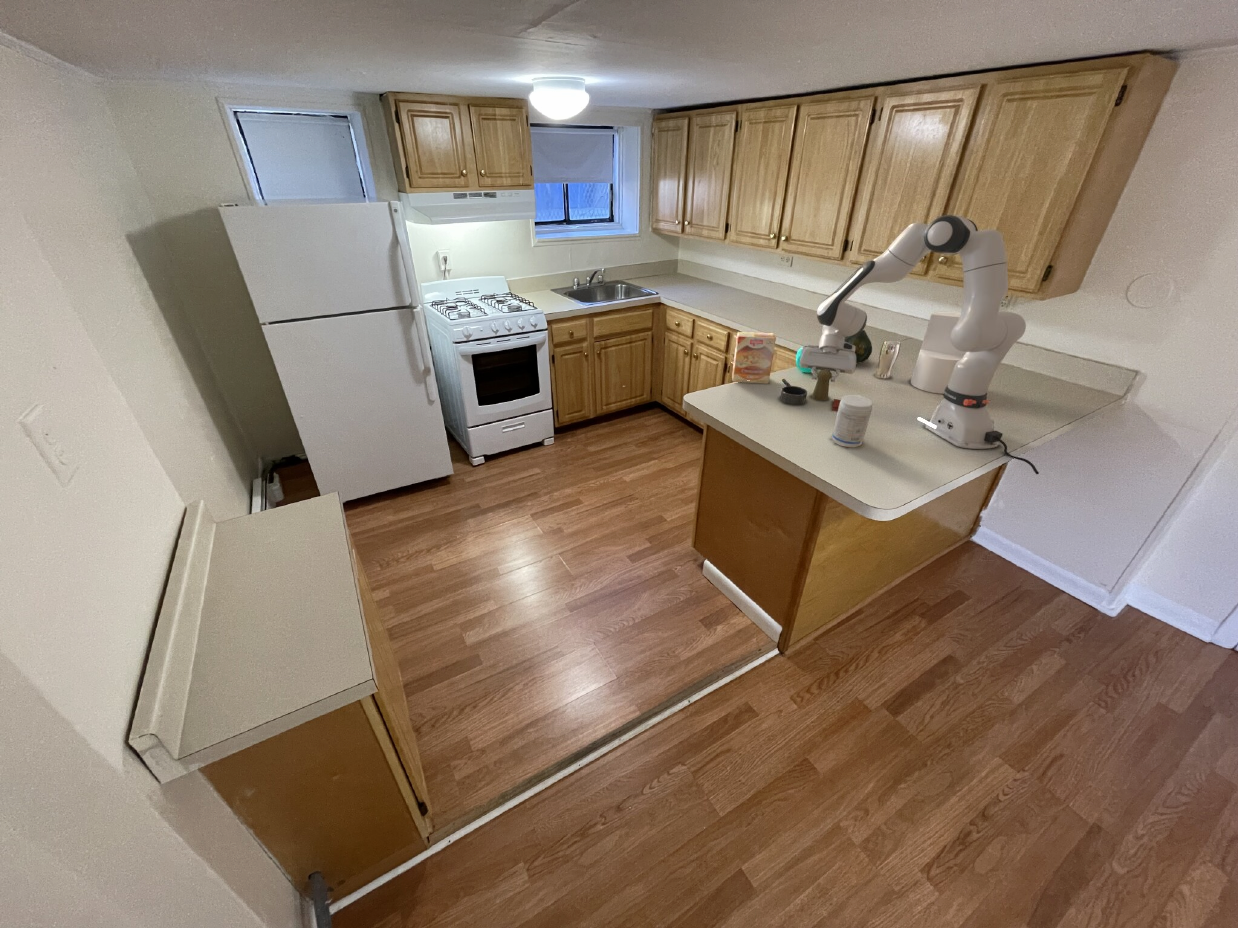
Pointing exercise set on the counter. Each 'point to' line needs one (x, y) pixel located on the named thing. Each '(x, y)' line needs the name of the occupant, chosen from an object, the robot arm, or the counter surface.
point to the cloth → (836, 404)
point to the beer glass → (887, 358)
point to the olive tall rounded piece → (822, 385)
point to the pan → (793, 395)
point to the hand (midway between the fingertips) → (823, 380)
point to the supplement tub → (852, 420)
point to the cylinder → (937, 354)
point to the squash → (860, 346)
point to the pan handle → (785, 382)
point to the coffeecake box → (753, 357)
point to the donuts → (799, 362)
